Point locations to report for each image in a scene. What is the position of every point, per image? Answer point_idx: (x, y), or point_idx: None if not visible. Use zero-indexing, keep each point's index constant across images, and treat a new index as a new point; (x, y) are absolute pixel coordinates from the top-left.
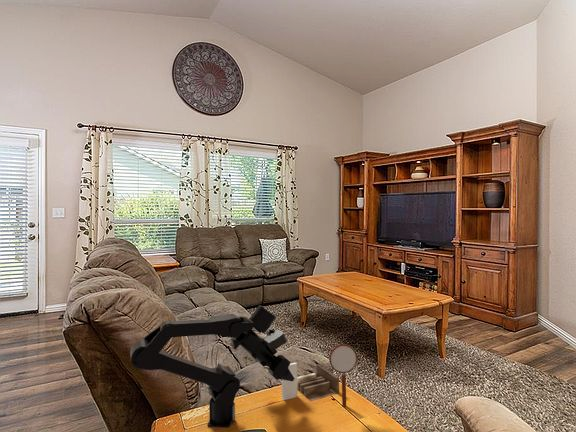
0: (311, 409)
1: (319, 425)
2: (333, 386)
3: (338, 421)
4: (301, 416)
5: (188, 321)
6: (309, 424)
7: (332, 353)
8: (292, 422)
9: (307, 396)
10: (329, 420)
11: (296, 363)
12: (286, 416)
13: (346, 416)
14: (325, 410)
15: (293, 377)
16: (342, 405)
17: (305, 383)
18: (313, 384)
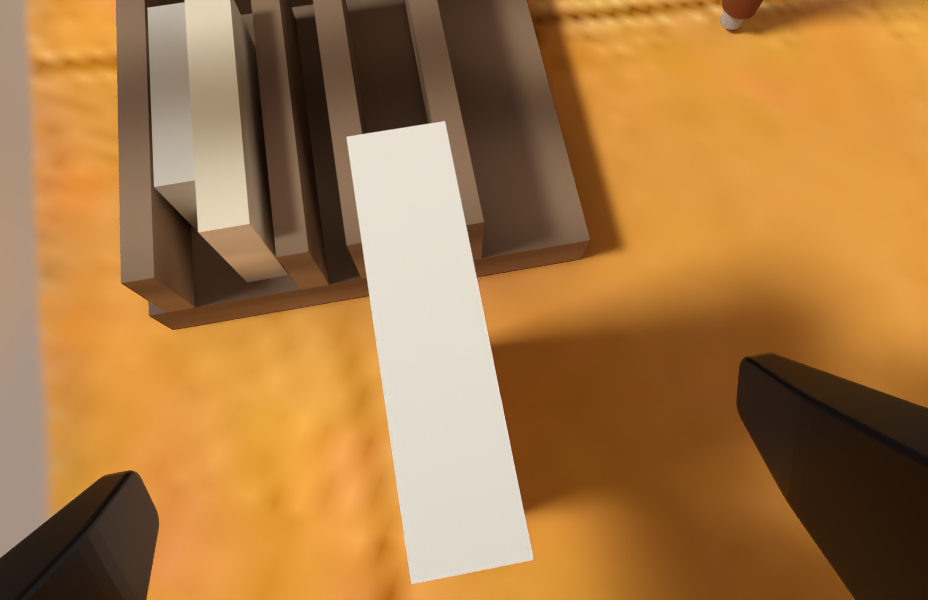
0: (644, 268)
1: (925, 289)
2: None
3: (879, 124)
4: None
5: None
6: (900, 369)
7: None
8: None
9: (488, 235)
10: (855, 184)
11: (428, 127)
12: (724, 555)
13: (812, 43)
14: (688, 159)
15: (812, 373)
16: (750, 4)
17: (349, 175)
18: (357, 99)
